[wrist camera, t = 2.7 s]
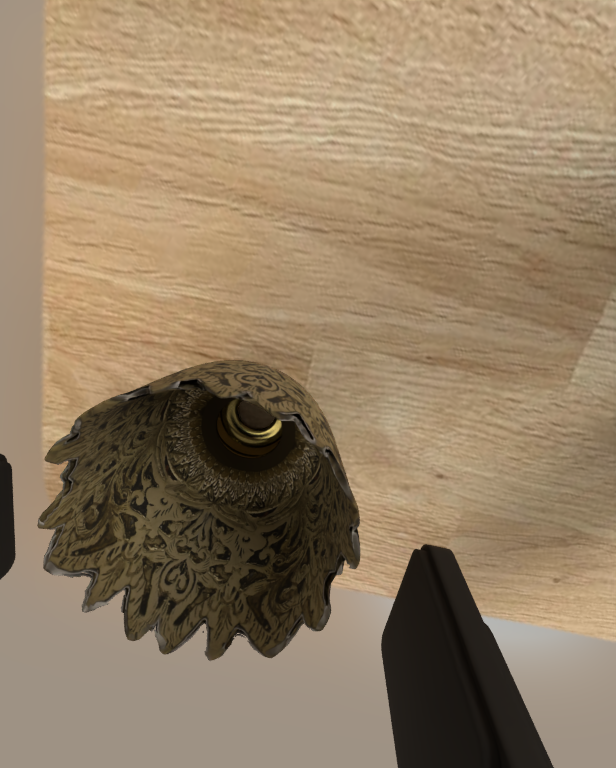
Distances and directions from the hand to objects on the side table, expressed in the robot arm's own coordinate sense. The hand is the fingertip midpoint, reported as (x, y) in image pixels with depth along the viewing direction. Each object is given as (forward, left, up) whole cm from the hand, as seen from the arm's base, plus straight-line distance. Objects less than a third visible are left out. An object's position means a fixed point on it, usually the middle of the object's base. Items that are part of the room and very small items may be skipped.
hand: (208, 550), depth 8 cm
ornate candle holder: (0, 0, -8) cm, 8 cm away
